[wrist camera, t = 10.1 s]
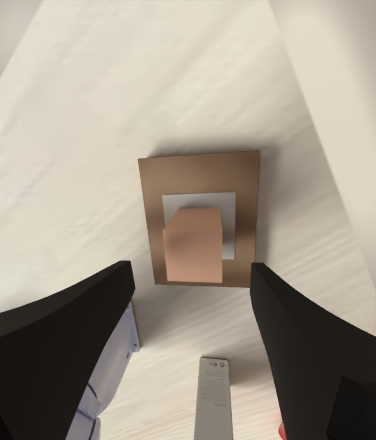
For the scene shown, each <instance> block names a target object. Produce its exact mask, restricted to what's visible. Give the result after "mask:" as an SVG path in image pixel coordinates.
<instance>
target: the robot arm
mask: <svg viewBox="0 0 376 440" xmlns="http://www.w3.org/2000/svg"><path fill="white" fill-rule="evenodd" d="M134 291H135V283H134V278H133V272H132V267H131V261H119V262H117V263H115V264H113V265H111V266H109V267H107V268H105V269H103V270H101V271H100V272H98V273H96V274H94V275H92V276H90V277H88V278H86V279H84V280H82V281H80V282H78V283H76V284H75V285H73V286H71V287H68V288H66V289H64V290H62V291H60V292H57V293H55V294H52V295H50V296H48V297H45V298H43V299H40V300H37V301H34V302H32V303H29V304H26V305H23V306H21V307H18V308H15V309H11V310H8V311H5V312H2V313H0V440H99V439H100V427H101V421H100V419H99V418H98V417H97V416H98V415H99V414H100V413H102V412H103V411H104V410H105V409H106V407H107V406H108V405H109V404H110V402H111V401H112V399H113V397H114V395H115V393H116V391H117V388H118V386H119V384H120V381H121V379H122V377H123V374H124V372H125V370H126V367H127V365H128V362H129V360H130V358H131V355H132V353H133V352H139V351H140V345H139V340H138V335H137V329H136V324H135V319H134V314H133V309H132V303H131V298H132V296H133V293H134ZM250 297H251V302H252V307H253V311H254V314H255V318H256V321H257V324H258V327H259V330H260V333H261V336H262V339H263V342H264V345H265V349H266V352H267V355H268V359H269V362H270V366H271V370H272V375H273V379H274V384H275V388H276V392H277V397H278V402H279V406H280V411H281V415H282V420H283V425H284V430H285V435H286V440H376V336H373V335H371V334H369V333H367V332H365V331H363V330H361V329H359V328H357V327H356V326H354V325H352V324H350V323H348V322H346V321H344V320H343V319H341V318H339V317H337V316H335V315H334V314H332V313H330V312H329V311H327V310H325V309H324V308H322V307H320V306H319V305H317V304H316V303H314V302H313V301H311V300H310V299H308V298H307V297H305V296H304V295H302V294H301V293H300V292H298V291H297V290H295V289H294V288H293V287H292V286H290V285H289V284H288V283H286V282H285V281H284V280H283V279H281V278H280V277H279V276H278V275H277V274H276V273H274V272H273V271H272V270H271V269H270V268H269V267H267V266H266V265H265V264H264V263H251V279H250ZM128 306H129V307H128Z"/></svg>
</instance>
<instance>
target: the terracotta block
mask: <svg viewBox="0 0 376 440" xmlns="http://www.w3.org/2000/svg"><path fill="white" fill-rule="evenodd" d="M162 232H163V242H164V251H165V261H166V270H167V280H168V281H184V282H210V283H222V224H221V215H220V208H185V209H178V210H177V211H176V213H175V214H174V216H173V217H172V218H171V220H170V221H169V222H168V224H167V225H166V227H165V228H164V229H163V231H162Z"/></svg>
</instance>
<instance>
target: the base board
mask: <svg viewBox="0 0 376 440" xmlns="http://www.w3.org/2000/svg"><path fill="white" fill-rule="evenodd" d="M138 164H139V171H140V178H141V185H142V192H143V200H144V207H145V214H146V221H147V229H148V236H149V243H150V250H151V258H152V265H153V272H154V279H155V284H160V285H188V286H216V287H245V288H250V279H251V263H254V256H255V238H256V220H257V202H258V184H259V166H260V150H255V151H241V152H227V153H213V154H198V155H184V156H170V157H156V158H142V159H138ZM185 208H220V215H221V224H222V283H210V282H184V281H168V280H167V270H166V261H165V251H164V242H163V232H162V231H163V229H164V228H165V227H166V225H167V224H168V222H169V221H170V220H171V218H172V217H173V216H174V214H175V213H176V211H177V210H178V209H185Z"/></svg>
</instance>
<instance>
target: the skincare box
mask: <svg viewBox="0 0 376 440" xmlns="http://www.w3.org/2000/svg"><path fill="white" fill-rule="evenodd" d="M194 440H233V426H232V411H231V395H230V379H229V364H228V361H227V360H220V359H210V358H200V362H199V375H198V389H197V402H196V415H195V429H194Z"/></svg>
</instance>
